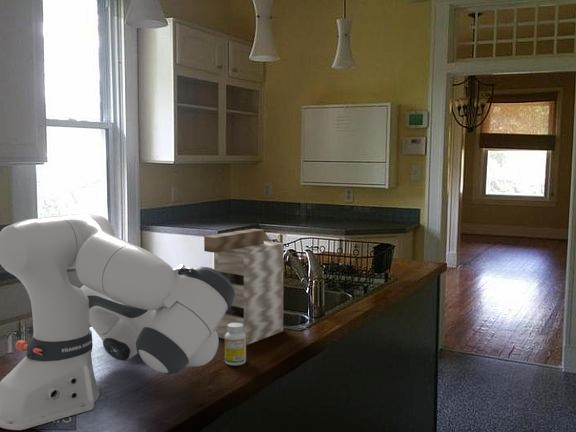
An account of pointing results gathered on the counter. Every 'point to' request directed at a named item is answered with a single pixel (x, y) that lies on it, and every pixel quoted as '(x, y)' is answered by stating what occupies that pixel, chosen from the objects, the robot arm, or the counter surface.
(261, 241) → the walnut box
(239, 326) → the supplement bottle
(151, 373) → the counter surface
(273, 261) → the crate
